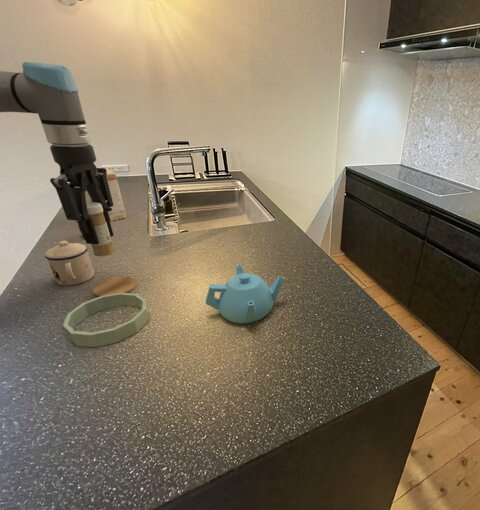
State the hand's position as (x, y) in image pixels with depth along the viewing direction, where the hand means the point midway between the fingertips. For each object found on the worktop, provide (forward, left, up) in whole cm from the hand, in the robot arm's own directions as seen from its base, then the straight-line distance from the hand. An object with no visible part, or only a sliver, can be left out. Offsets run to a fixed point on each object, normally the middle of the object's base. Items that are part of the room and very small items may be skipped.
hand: (100, 239), depth 79 cm
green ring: (+9, -14, -15) cm, 22 cm away
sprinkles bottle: (0, 0, -4) cm, 4 cm away
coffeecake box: (-39, +51, -16) cm, 66 cm away
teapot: (+39, -4, -16) cm, 42 cm away
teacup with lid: (-13, +2, -16) cm, 21 cm away
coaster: (0, 0, -15) cm, 15 cm away
